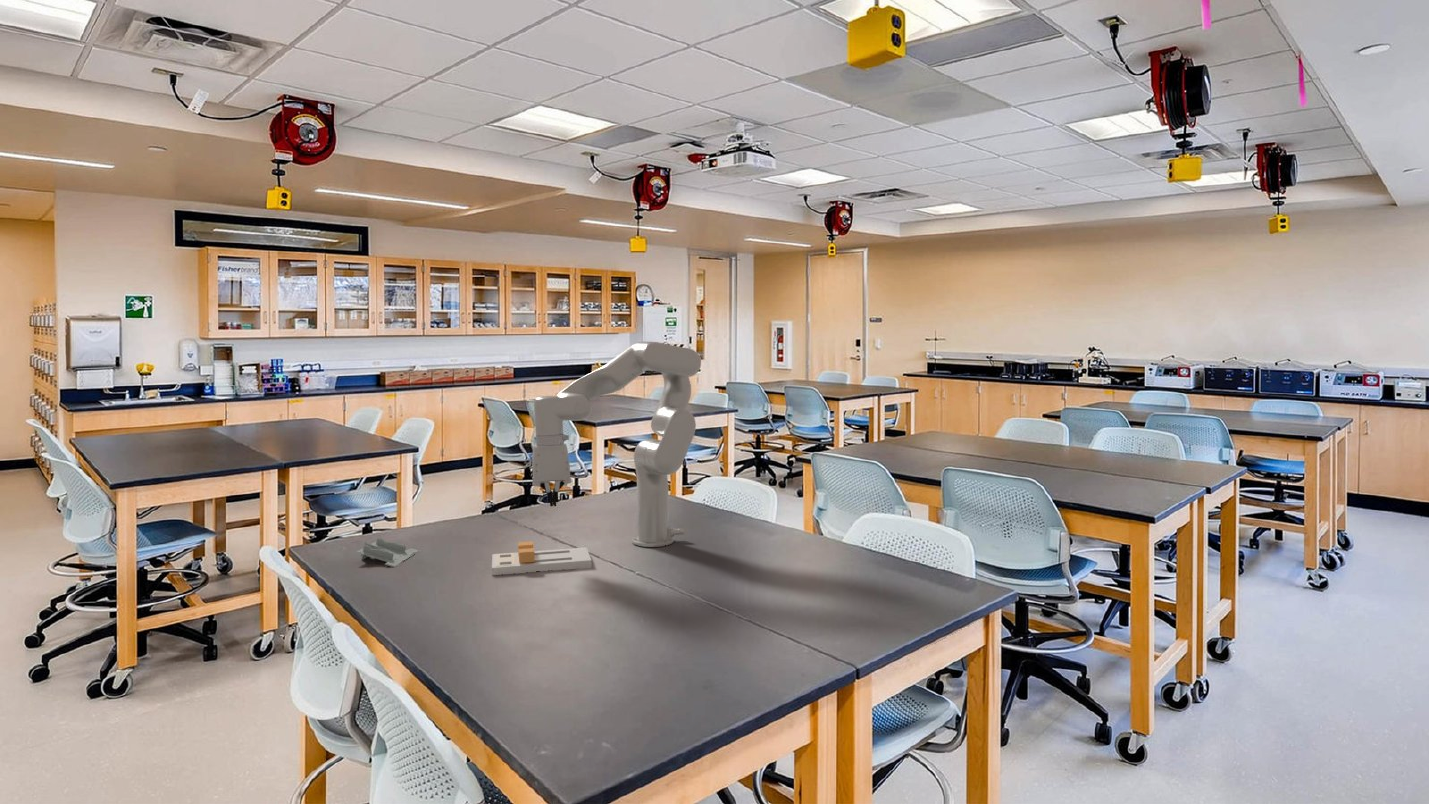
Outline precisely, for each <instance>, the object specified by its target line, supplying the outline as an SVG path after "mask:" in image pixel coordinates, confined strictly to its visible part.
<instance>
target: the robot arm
mask: <svg viewBox="0 0 1429 804" xmlns="http://www.w3.org/2000/svg"><path fill="white" fill-rule="evenodd" d="M701 366H702V359H701V357H700V355H699V354H698V352H697V351H695V350H694V349H692V348H687V347H684V346H683V347H682V346H677V345H673V344H667V343H662V342H659V341H644V340H643V341H637V342H635V343H633V344H631V345H630V346H628V347H627V348H626V349H625V350H623V351H622V352H621V353H619V354H618V355H617V356H615V357H614V358H612V359H611V360H610V361H608V362H607V363H606V364H604V365H603V366H601V367H599V368H597V369H595V370H593V371H591V372H590V373H587V374H586V375H583V376H582V377H580V378H578V379H576V380H575V381H573V382H572V383H570V384H569V385H568V386H566V387H565V388H564V389H562V390H561V391H560V392H559V393H557V394H556V395H541V396H538V397H536V398H535V399H534V402H533V406H534V427H535V431H534V432H535V445H533V446H532V456H531V457H532V458H531V459H532V461H531V462H532V463H531V464H532V466H531V468H532V470H531V471H532V484H531V485H532V486H533V487H539V488H542V489H543V490H544V491H545V492H546V500H547V504H549V506H550V507H557V503H559V491H560V490H561V488H563V487H564V486H565V485H568V484H572V478H571V466H570V465H571V464H570V458H569V451H568V450H569V449H568V447H567V446H568V445H567V443H565V441H569V440H570V436H569V435H568V434H564V421H571V422H573V421H574V422H577V421H578V422H579V421H583V420H585V419H587V418H589V416H590V415H591V413H592V411H593V405H592V400H595V399H596V398H598V397H601V396H605V395H610V394H614V393H616V392H619V391H621V390H622V389H624V388H625V387H626V386H627V385H629V384H630V383H631V382H633V381H634V380H635V379H637V378H638V377H640V376H641V375H642V374H643V373H645V372H647V371H648V372H649V371H650V372H651V371H653V372H659V373H661V375H662V378H663V383H664V384H663V390H662V393H661V397H660V399H659V401H658V404H657V405H656V408H655V410H654V413H653V415H652V418H651V423H650V427H651V428H650V429H651V430H652V432H653V433H654V434H655V435H657V436H660V437H661V440H660V439H656V438H646V439H643V440H641V441H640V442H639V443H638V444H637V445H636V446H635V449H634V453H633V460H634V467H635V474H636V509H637V510H636V512H637V513H636V516H637V517H636V519H637V520H636V523H637V524H636V525H637V526H636V527H637V529H636V530H637V532H636V533H637V534H636V535H634V536H633V537H632V538H631V539H632V544H633V545H636V546H639V547H643V548H644V547H645V548H659V547H660V548H661V547H665V545H666V546H670V545H671V544H673V543H674V542H675V541H674V539H675V538H674V536H684V535H685V529H684V528H679V527H674V528H672V527H671V526H670V524H669V523H670V522H669V480H668V478H669V477H668V476H669V475H670V476H671V475H673V474H675V473H676V472H677V471H678V470H679V469H680V468H681V467H682V465H683V464H684V461H685V459H686V456H687V454H688V451H689V449H690V447H691V444H692V442H693V439H694V437H695V433H696V424H697V423H696V419H695V416H694V415H693V414H692V412H691V411H689V410H687V408H688V404H689V401H690V400H691V396H692V385H691V381H690V377H693V376H695V375H697V374H698V372H700V369H701ZM550 482H554V485H553V488H551V487H550Z"/></svg>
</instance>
